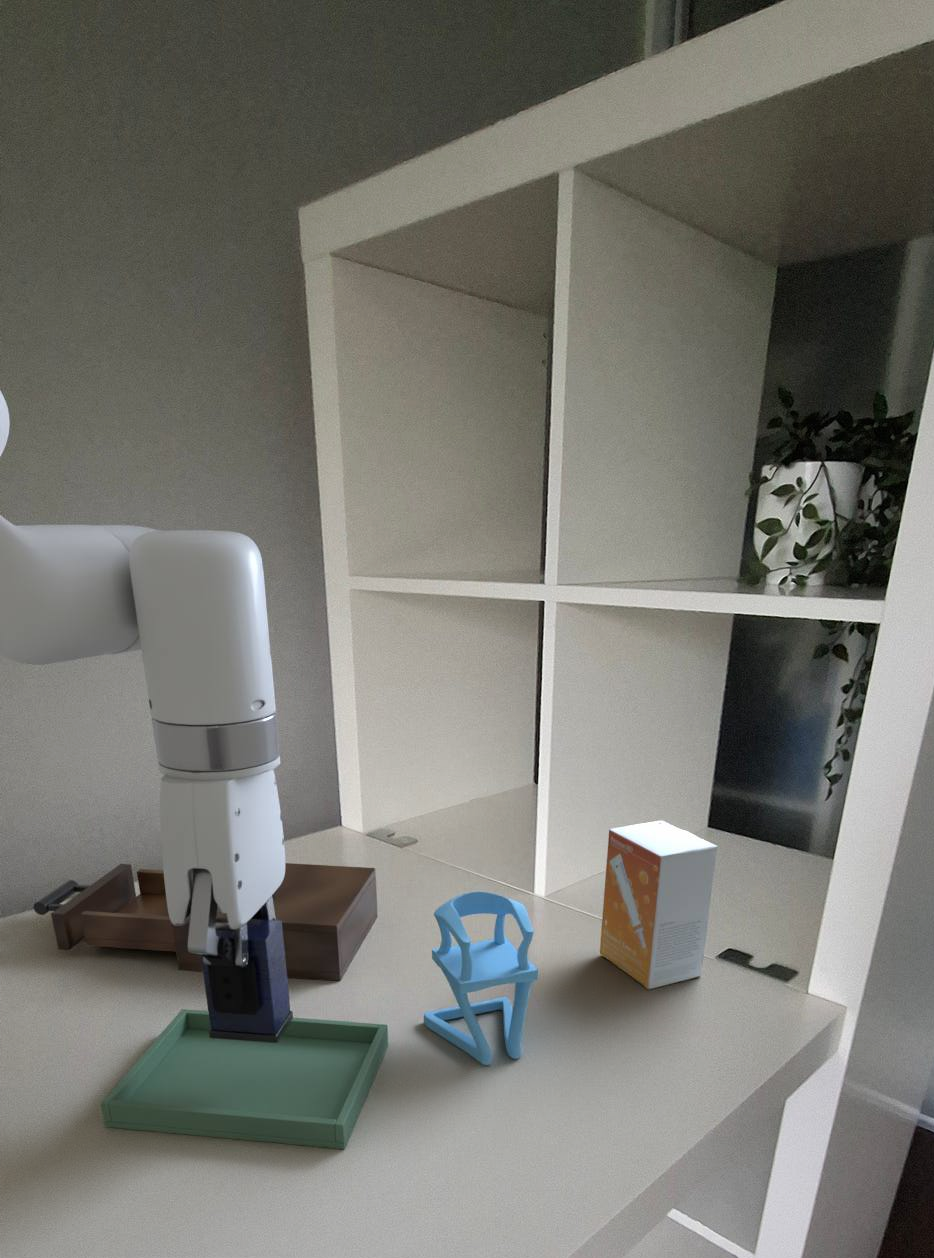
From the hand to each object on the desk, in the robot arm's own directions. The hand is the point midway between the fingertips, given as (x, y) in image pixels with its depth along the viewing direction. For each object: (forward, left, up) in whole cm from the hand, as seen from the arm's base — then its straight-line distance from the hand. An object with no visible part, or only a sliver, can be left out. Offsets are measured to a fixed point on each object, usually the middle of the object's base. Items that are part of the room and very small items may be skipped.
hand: (247, 995), depth 65 cm
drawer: (-21, +24, -7) cm, 33 cm away
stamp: (0, 0, -3) cm, 3 cm away
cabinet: (-6, +24, -8) cm, 26 cm away
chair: (+16, +9, -8) cm, 20 cm away
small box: (+30, +24, -8) cm, 39 cm away
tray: (0, 0, -8) cm, 8 cm away
